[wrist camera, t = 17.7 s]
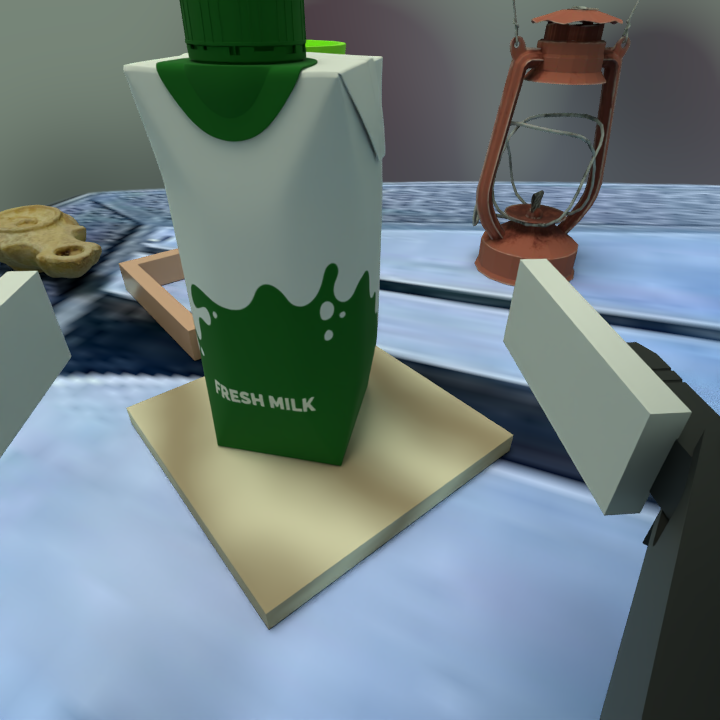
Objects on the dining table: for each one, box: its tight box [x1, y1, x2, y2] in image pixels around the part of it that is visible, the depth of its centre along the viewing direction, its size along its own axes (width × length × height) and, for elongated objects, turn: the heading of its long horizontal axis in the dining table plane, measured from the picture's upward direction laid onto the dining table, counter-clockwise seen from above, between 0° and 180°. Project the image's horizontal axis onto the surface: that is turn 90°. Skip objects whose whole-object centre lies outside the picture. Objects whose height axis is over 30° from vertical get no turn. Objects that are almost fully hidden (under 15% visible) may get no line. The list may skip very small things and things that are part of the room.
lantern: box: [473, 0, 640, 286], centre depth 41 cm, size 10×10×30 cm
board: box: [127, 346, 513, 629], centre depth 29 cm, size 16×16×1 cm
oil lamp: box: [0, 205, 102, 278], centre depth 47 cm, size 11×14×5 cm
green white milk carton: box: [123, 0, 385, 466], centre depth 24 cm, size 9×9×20 cm
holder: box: [119, 249, 201, 360], centre depth 43 cm, size 14×14×2 cm
